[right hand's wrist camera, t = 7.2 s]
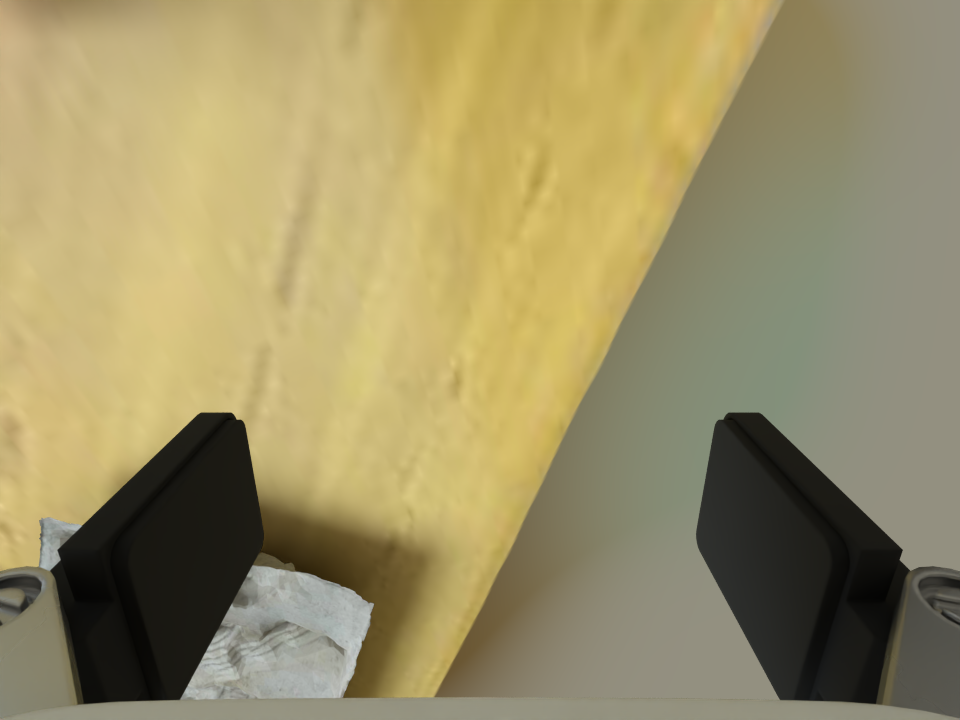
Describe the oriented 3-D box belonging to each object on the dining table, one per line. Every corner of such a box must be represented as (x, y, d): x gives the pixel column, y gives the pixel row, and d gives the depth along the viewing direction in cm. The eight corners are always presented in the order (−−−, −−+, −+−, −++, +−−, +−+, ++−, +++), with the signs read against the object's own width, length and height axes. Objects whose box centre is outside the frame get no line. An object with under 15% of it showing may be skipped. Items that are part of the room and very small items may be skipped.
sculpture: (50, 738, 63) (307, 802, 65) (6, 795, 57) (288, 863, 60) (76, 465, 51) (391, 557, 53) (23, 503, 45) (378, 604, 47)
